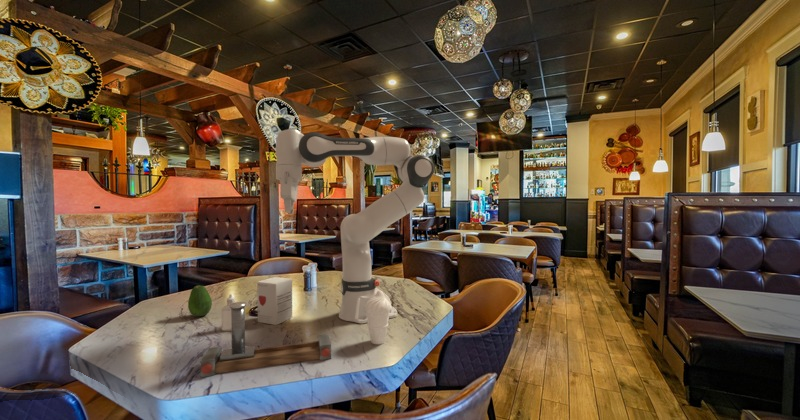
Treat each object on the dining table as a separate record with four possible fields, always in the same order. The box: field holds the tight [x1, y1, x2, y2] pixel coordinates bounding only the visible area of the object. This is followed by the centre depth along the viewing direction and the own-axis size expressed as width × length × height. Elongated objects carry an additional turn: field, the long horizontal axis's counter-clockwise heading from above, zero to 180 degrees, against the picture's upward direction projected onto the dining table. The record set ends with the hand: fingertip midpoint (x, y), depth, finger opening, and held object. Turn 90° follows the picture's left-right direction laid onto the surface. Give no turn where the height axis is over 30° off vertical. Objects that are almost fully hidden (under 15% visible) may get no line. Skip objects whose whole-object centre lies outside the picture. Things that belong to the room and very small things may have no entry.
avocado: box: [187, 284, 213, 317], centre depth 127 cm, size 8×8×12 cm
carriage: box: [220, 301, 257, 362], centre depth 88 cm, size 8×4×15 cm, turn 107°
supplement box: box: [256, 276, 293, 326], centre depth 122 cm, size 9×9×15 cm
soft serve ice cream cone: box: [364, 290, 392, 345], centre depth 102 cm, size 8×8×16 cm
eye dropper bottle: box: [221, 293, 236, 332], centre depth 113 cm, size 4×6×12 cm
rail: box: [199, 333, 332, 378], centre depth 90 cm, size 32×8×4 cm, turn 107°
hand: (289, 213), depth 117 cm, fingers open, 8 cm apart
